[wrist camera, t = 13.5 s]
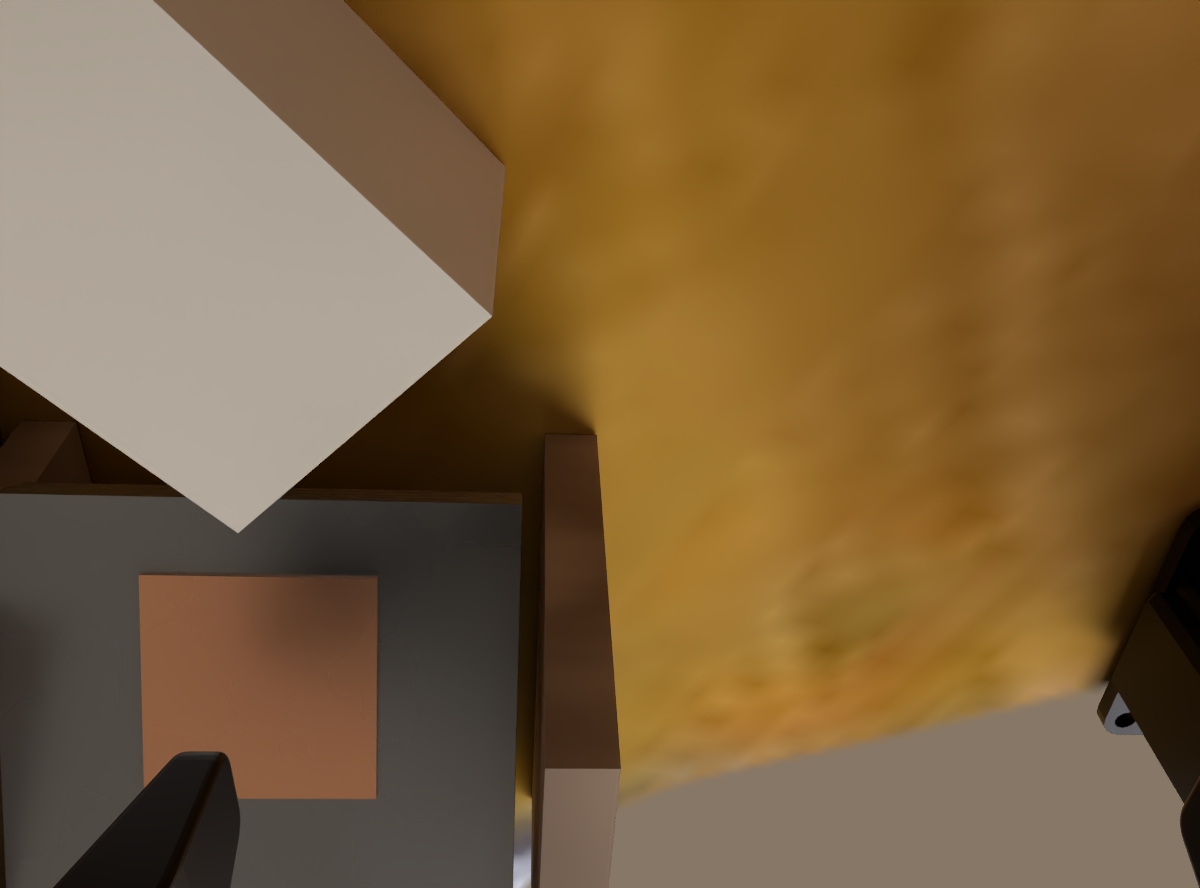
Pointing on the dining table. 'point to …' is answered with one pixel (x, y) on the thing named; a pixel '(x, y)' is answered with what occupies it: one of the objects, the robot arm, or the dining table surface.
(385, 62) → the off-white block
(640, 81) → the dining table surface
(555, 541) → the frame
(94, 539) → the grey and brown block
